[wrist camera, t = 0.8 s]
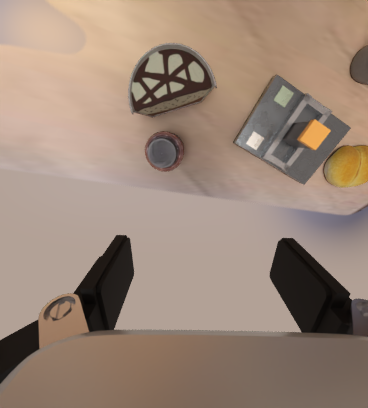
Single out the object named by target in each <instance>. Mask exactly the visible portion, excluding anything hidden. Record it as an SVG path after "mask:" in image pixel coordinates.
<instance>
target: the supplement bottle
mask: <svg viewBox="0 0 368 408" xmlns="http://www.w3.org/2000/svg"><path fill="white" fill-rule="evenodd" d="M145 155H146V158H147V160H148V162H149V164H150V165H151V166H152V167H154V168H155V169H157V170H159V171H171V170H173V169H175V168H176V167H177V166H178V165H179V164H180V163H181V161H182V158H183V155H184V146H183V143H182V141H181V139H180V138H179V137H178V136H177V135H175V134H173V133H170V132H165V131H163V132H157V133H155V134H153V135H152V136H151V137H150V138H149V139H148V141H147V143H146V146H145Z"/></svg>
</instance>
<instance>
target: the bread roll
mask: <svg viewBox="0 0 368 408" xmlns="http://www.w3.org/2000/svg"><path fill="white" fill-rule="evenodd" d="M324 174H325V177H326V179H327V181H328V182H329V183H330V184H332V185H334V186H336V187H341V188H343V187H353V186H358V185H361V184H363V183H366V182H367V181H368V146H366V145H362V146H356V147H352V146H344V147H341V148H339V149H338V150H337V151H336V152H335V153H334V154H333V155H332V156H331V157H330V158H329V159H328V160H327V162H326V164H325V167H324Z"/></svg>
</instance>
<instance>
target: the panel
mask: <svg viewBox="0 0 368 408" xmlns="http://www.w3.org/2000/svg"><path fill="white" fill-rule="evenodd" d="M331 112H332V111H331V110H330V109H328V108H326V107H324V106H323V105H322V104H320V103H319V102H318V101H316V100H315V99H313V98H312V96H311V95H309V94H308V93H306V94H303V93H302V92H301V91H299V90H298V89H296V88H295V87H294V86H292V85H291V84H290V83H288V82H287V81H285V80H284V79H283V78H281V77H280V76H278V75H275V76H274V77H273V78H272V79H271V81H270V82H269V84H268V86H267V87H266V89H265V91H264V92H263V94H262V96H261V97H260V99H259V101H258V102H257V104H256V106H255V107H254V109H253V111H252V112H251V114H250V116H249V117H248V119H247V120H246V122H245V124H244V125H243V127H242V129H241V130H240V132H239V134H238V135H237V137H236V139H235V140H234V142H233V143H235V144H236V145H238V146H240V147H241V148H243V149H245V150H246V151H248V152H250V153H251V154H253V155H254V156H256V157H258V158H259V159H261V160H263V161H264V162H266V163H268V164H269V165H271V166H273V167H274V168H276V169H278V170H279V171H281V172H283V173H284V174H286V175H288V176H289V177H291V178H293V179H294V180H296V181H298V182H299V183H301V184H305V183H306V182H307V181H308V179H309V178H310V177H311V176H312V175H313V173H314V172H315V171H316V170H317V169H318V167H319V166H320V165H321V164H322V162H323V161H324V160H325V159H326V158H327V156H328V155H329V154H330V153H331V152H332V150H333V149H334V148H335V147H336V145H337V144H338V143H339V142H340V141H341V139H342V138H343V137H344V136H345V135H346V133H347V132H348V131H349V130H350V127H349V126H348V125H346V124H345V123H343V122H342V121H341V120H339V119H338V118H336V117H335V116H334V115H332V114H331ZM314 119H315V120H317V121H318V122H320V123H321V124H323V125H324V126H325V127H327V128H328V129H330V130H331V131H330V133H329V134H328V135H327V136H326V138H325V139H324V140H323V141H322V143H321V144H320V145H319V147H318V148H317V149H316V150H312V149H307V148H297V147H292V146H291V145H289V144H288V143H286V142H285V141H283V140H282V138H283V137H284V136H285V134H286V133H287V131H288V130H289V128H290V127H291V126H292V124H293V123H298V122H306V121H311V120H314Z"/></svg>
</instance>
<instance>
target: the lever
mask: <svg viewBox="0 0 368 408" xmlns="http://www.w3.org/2000/svg"><path fill="white" fill-rule="evenodd" d="M330 131H331V130H330V129H328V128H327V127H325V126H324V125H323V124H321V123H320V122H318V121H317V120H315V119H314V120H311V121H306V122H298V123H293V124H292V126H291V127H290V128H289V130H288V131H287V133H286V134H285V136H284V137H283V138H282V140H283V141H285V142H286V143H288V144H289V145H291V146H292V147H297V148H307V149H312V150H316V149H317V148H318V147H319V145H320V144H321V143H322V141H323V140H324V139H325V138H326V136H327V135H328V134H329V133H330Z"/></svg>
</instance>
